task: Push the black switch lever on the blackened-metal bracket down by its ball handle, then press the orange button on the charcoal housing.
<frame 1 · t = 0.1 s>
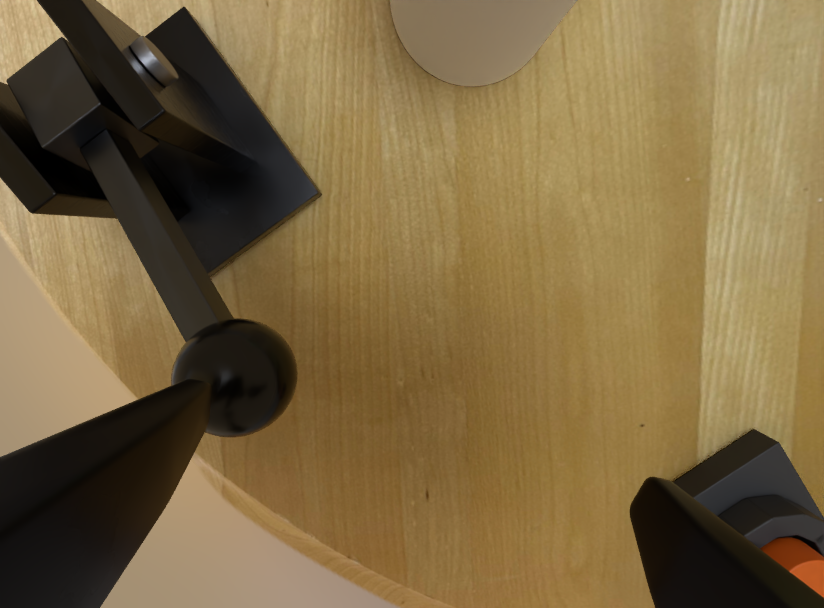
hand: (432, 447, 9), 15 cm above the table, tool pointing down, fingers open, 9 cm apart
lever: (158, 238, 13), point 10 cm above the table, hinge at 20.0°
button: (795, 579, 23), point 4 cm above the table, slide at 0.1 cm
button box: (735, 527, 27), on the table
switch: (197, 157, 22), on the table
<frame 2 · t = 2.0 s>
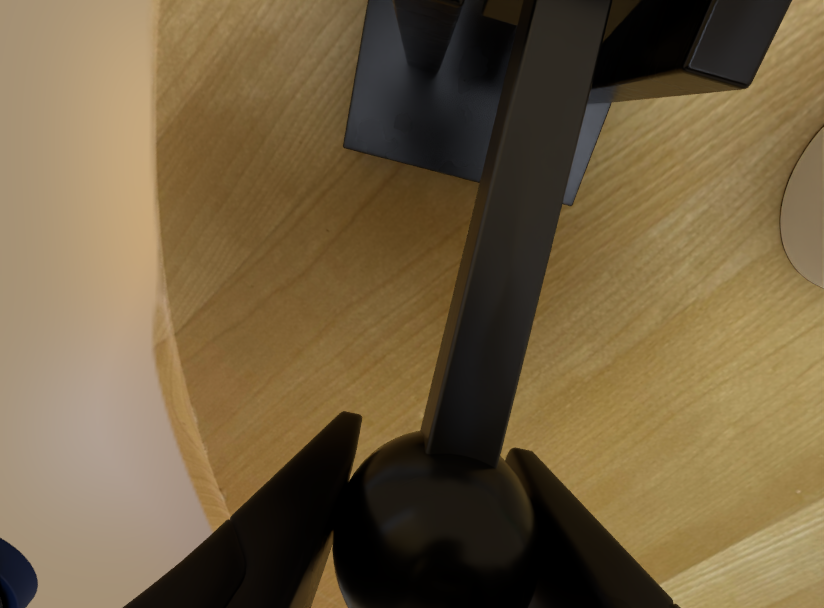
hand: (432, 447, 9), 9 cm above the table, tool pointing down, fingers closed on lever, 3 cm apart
lever: (509, 230, 7), point 10 cm above the table, hinge at 20.0°, touching gripper
switch: (500, 15, 14), on the table
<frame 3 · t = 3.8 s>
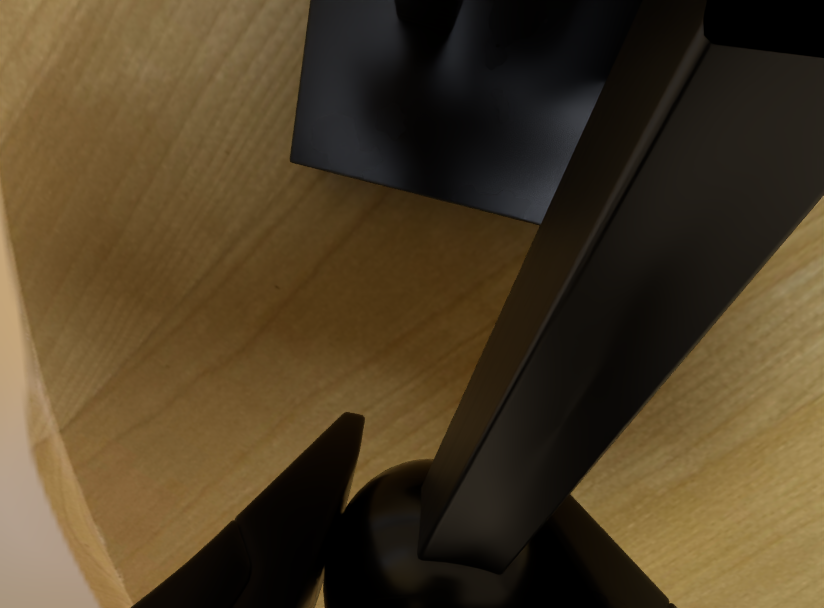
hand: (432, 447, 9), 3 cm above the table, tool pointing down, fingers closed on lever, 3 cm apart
lever: (580, 330, 4), point 7 cm above the table, hinge at -14.2°, touching gripper
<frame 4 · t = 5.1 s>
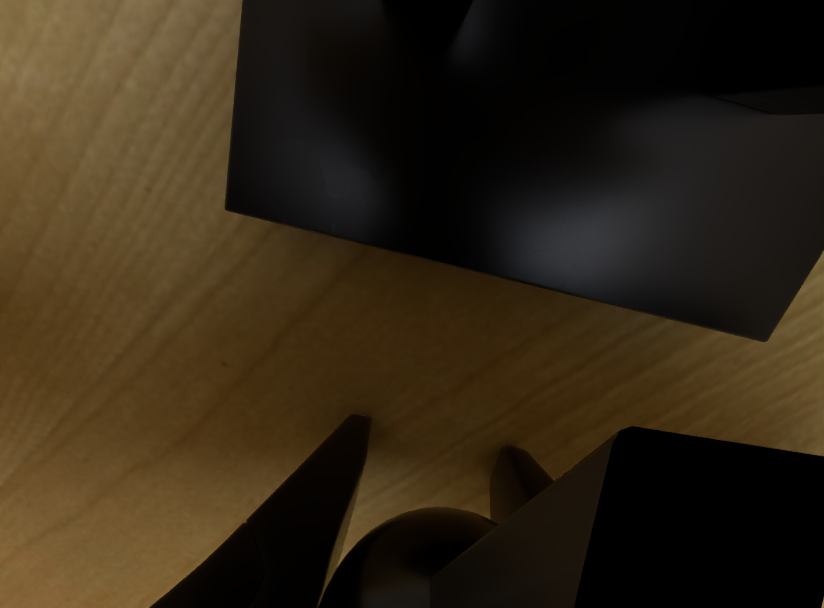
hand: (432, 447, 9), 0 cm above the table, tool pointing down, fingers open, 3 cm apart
lever: (771, 570, 2), point 6 cm above the table, hinge at -25.6°
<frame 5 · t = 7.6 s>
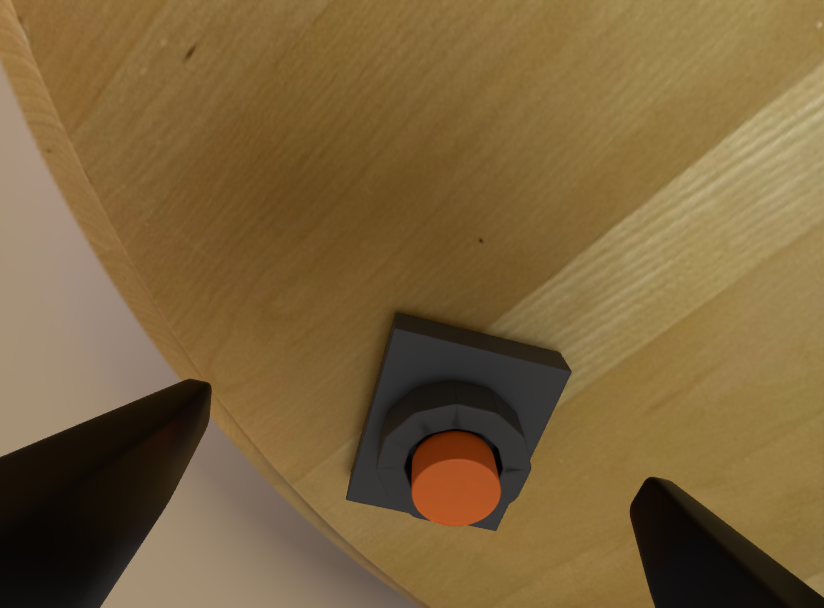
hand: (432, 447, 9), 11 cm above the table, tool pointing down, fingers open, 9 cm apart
button: (454, 478, 18), point 4 cm above the table, slide at 0.1 cm
button box: (448, 418, 22), on the table
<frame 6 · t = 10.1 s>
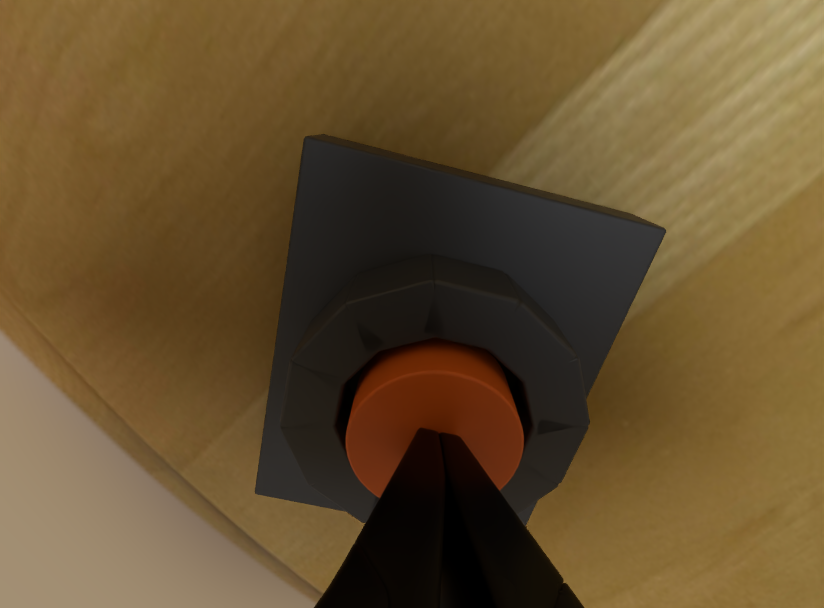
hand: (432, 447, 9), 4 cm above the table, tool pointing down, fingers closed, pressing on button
button: (433, 421, 10), point 3 cm above the table, slide at -0.6 cm, touching gripper
button box: (430, 348, 13), on the table
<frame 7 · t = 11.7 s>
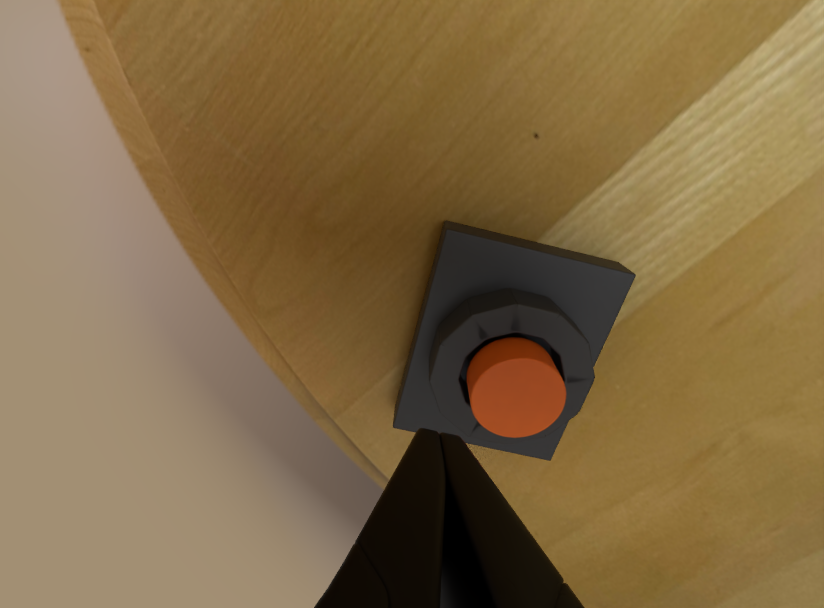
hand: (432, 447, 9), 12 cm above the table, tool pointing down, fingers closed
button: (513, 387, 17), point 4 cm above the table, slide at 0.1 cm
button box: (498, 340, 21), on the table
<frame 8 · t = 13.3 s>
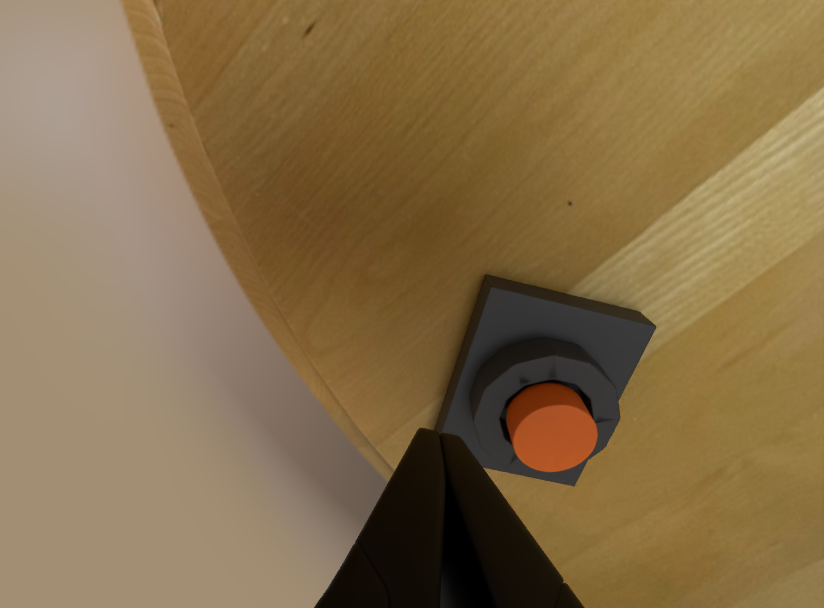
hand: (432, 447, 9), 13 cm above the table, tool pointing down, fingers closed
button: (549, 426, 19), point 4 cm above the table, slide at 0.1 cm
button box: (529, 378, 23), on the table
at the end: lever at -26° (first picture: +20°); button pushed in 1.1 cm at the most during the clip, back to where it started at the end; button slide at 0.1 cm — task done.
